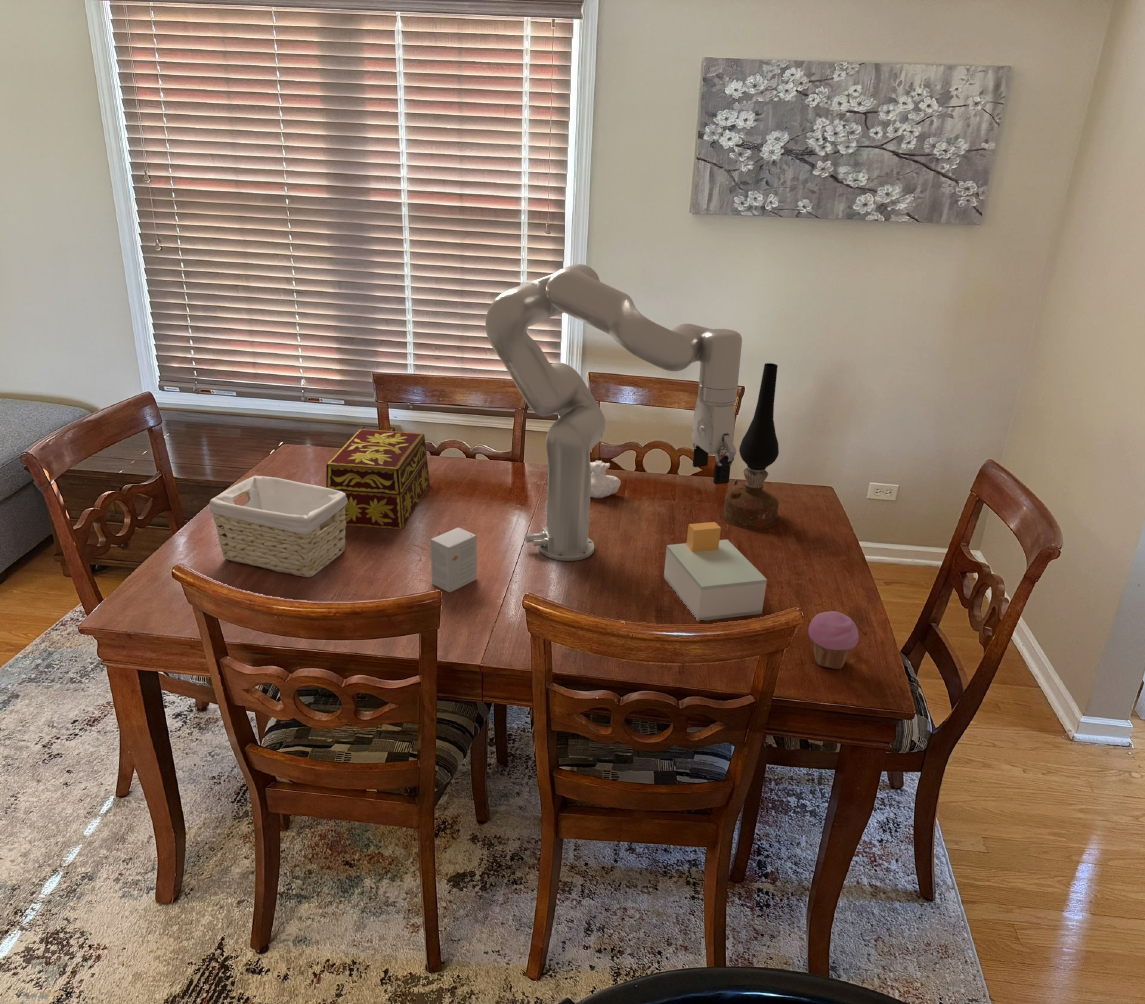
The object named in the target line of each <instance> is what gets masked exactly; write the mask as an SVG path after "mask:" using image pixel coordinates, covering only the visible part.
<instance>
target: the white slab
mask: <svg viewBox="0 0 1145 1004" xmlns="http://www.w3.org/2000/svg"><path fill="white" fill-rule="evenodd" d="M721 530H722V528H721V526H719V524H718V523H716V521H712V522H710V521H709V522H699V523H698V522H697V523H688V528H687V536H686V537H687V538H686V542H685V543H676V544H667V545H666V549H667V550H668V551H669V552H670V553H671V554H672V556H673V557H674V558H675V559H676V560H677V562H678V563H679V564H680V565H681V566H682V568H683V569H684V570H685V571H686V573H687V574H688V575H689V576H690V577H691V579H692V580H693V581H694V582H695V583H696V585H697V586H698V587H699V588H700V589H701V590H709V589H718V588H727V587H736V586H745V585H755V584H764V583H766V584H767V581H768V579H767V578H766V577H765V576H764V575H763V574H762V573H761V571H759V570H758V568H756V566H755V565H753V564H752V562H750V560H748V558H746V557H745V556H744V554H743V553H741V551H740V550H738V548H736V546H734V544H733V543H731V541H730V540H729V539H721V532H722V531H721Z"/></svg>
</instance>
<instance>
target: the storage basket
mask: <svg viewBox="0 0 1145 1004" xmlns="http://www.w3.org/2000/svg"><path fill="white" fill-rule="evenodd" d="M245 494H246V495H245ZM244 495H245V496H246V497H247V502H246V503H245V504H243V505H238V504H235V501H236V500H237V499H239V498H241V497H242V496H244ZM347 503H348V500H347V498H346V494H345V493H343V492H341V491H337V490H334V489H330V488H326V487H324V486H319V485H317V484H316V485H315V484H309V483H305V482H304V483H303V482H299V481H294V480H290V479H284V478H280V477H274V476H264V475H259V476H258V475H253V476H251V477H250V478H247V479H244V480H242V481H240V482H238V483H236V484H235V485H234V486H231V487H230V488H228V489H226V490H224V491H223V492H221V493H220V494H218V495H216V496H215V497H213V498H211V499H210V500H209V513H211V514H212V517H213V522H214V524H215V527H216V533H217V535H218V540H219V545H220V549H221V552H222V556H223V558H224V559H226V560H228V561H231V562H235V563H241V564H246V565H250V566H254V567H259V568H263V569H269V570H272V571H274V572H277V573H285V574H291V575H294V576H297V577H298V576H299V577H303V578H312V577H314V576H315V575H316V574H317V573H318V572H320V571H321V570H323V569H324V568H326V567H327V566H328V565H329V564H330V563H331V562H333V561H335V560H336V558H338V557H340V556H341V554H342V553H343V552H344V551H345V549H346V538H345V537H346V527H347V525H346V521H345V506H346V504H347Z"/></svg>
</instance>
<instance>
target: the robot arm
mask: <svg viewBox="0 0 1145 1004" xmlns="http://www.w3.org/2000/svg"><path fill="white" fill-rule="evenodd" d="M564 313H565V315H568V316H570V317H572V318H574V319H576V320H579V321H581V322H583V323H585V324H587V325H590V326H591V327H593V328H595V329H597V330H600V331H602V332H604V333H606V334H607V335H609V336H610V337H612V339H613V340H614V341H615V342H617V344H619V345H620V346H622V347H623V349H625V350H626V351H628V352H629V353H631V354H632V355H634V356H635V357H637V358H639V359H641V360H643V361H645V362H647V363H650V364H651V365H653V366H655V367H657V368H660V369H662V370H666V371H668V372H669V371H670V372H679V371H684V370H686V369H687V368H688V367H690V365H691V364H693V363H695V362H699V363H700V365H699V377H698V391H697V399H696V403H695V408H694V414H693V418H692V419H693V421H692V428H691V441H693V444H692V447H693V456H692V467H693V468H702V467H703V468H704V467H708V463H709V455H714V457H715V458H714V459H715V462H716V464H714V469H713V470H714V471H713V480H712V481H713V484H714V485H725V484H728V483H729V482H730V473H731V466H732V465H733V463H734V459H735V456H736V453H737V448H736V446H735V445H734V442H735V441H734V440H735V427H736V426H735V424H736V421H735V419H736V416H735V415H736V410H735V404H736V403H737V396H738V395H737V394H738V385H739V377H740V376H739V374H740V365H741V355H742V346H743V338H742V337H743V336H742V334H741V333H739V332H738V331H737V330H736V331H735V330H734V329H727V328H710V327H709V328H708V327H705V326H700V325H698V324H692V323H682V324H678V325H676V326H675V327H674V328H671V329H668V328H667V327H665V326H663V325H660V324H658V323H656V322H655V321H652V320H651V319H649V318H647V317H646V316H644V314H642V313H641V312H640V311H639V310H638V308H637V306H636V305H635V303H634V300H633V299H632V297H631V296H630V295H628V294H627V293H625V292H623V291H620V290H619V289H617V288H614V287H613V286H610V285H609V284H607V283H604V282H602V281H601V280H600V277H599V275H598V273H597V272H596V271H595V270H594V269H593V268H591V267H590V266H588V265H586V264H581V263H575V264H571V265H569V266H566V267H562V268H560V269H558V270H556V271H555V272H554V273H552V274H549V275H546V276H543V277H542V278H538V279H534V280H533V281H530V282H526V283H524V284H521V285H518V286H515V287H513V288H509V289H507V290H504V291H503V292H502V293H500V294H499V295H498V296H496V297H495V298H494V300H492V303H491V304H490V306H489V308H488V310H487V313H486V316H485V333H486V336H487V339H488V342H489V343H490V346H491V348H492V350H493V351H494V352H495V354H496V355H497V357H498V358H499V360H500V361H501V362H502V364H503V366H504V367H505V369H506V370H507V373H508V374H509V376H510V378H511V379H512V381H513V382H514V385H515V386H516V388H517V389H518V391H519V393H520V394H521V395H522V397H523V399H524V402H526V404H527V406H528V407H529V408H530V410H531V411H532V412H533V413H535V414H536V415H538V416H540V417H548V416H549V417H550V416H552V415H555V414H557V416H558V417H559V418H557V420H555V421H554V422H553V423H552V425H551V426H550V427H549V429H548V430H547V432H546V433H547V434H546V438H545V452H546V461H547V492H546V493H547V497H546V501H547V502H546V526H544V527H542V531H538V533H525V535H524V541H525V543H527V544H528V543H532V546H533V547H536V546H537V547H538V549H539V552H540V553H541V554H543V555H544V556H546V557H547V558H550V559H554V560H557V561H565V562H573V561H580V560H584V559H587V558H588V557H590V556H591V555H592V554H594V552H595V543H594V542H593V540H592V539H591V538H589V525H590V510H591V509H590V508H591V507H590V506H591V497H590V493H591V474H592V473H591V465H590V462H591V458H590V453H591V451H592V449H593V448H594V447H595V446H596V445H597V444H599V442H601V441H602V439H603V438H604V436H605V434H606V431H607V422H606V418H605V416H604V413H603V411H602V409H601V408H600V406H599V404H598V403H597V400H596V399H595V397H594V396H593V393H591V392H592V391H591V390H590V389H589V387H588V386H587V384H586V383H585V381H584V379H583V378H582V376H581V375H580V373H579V372H578V371H577V370H576V369H575V368H574V367H572V366H570V365H569V364H568V363H567V364H566V363H563V362H554V363H551V362H550V361H549V360H548V358H547V357H546V355H545V353H544V351H543V349H542V348H541V346H540V345H539V344H538V343H537V342H536V340H535V339H534V338H532V337H531V336H530V334H529V333H528V331H527V330H528V328H529V327H531V326H534V325H536V324H539V323H541V322H543V321H545V320H548V319H550V318H553V317H556V316H559V315H562V314H564ZM721 455H723V457H721Z"/></svg>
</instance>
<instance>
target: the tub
mask: <svg viewBox="0 0 1145 1004" xmlns="http://www.w3.org/2000/svg"><path fill="white" fill-rule="evenodd" d="M663 571H664V573H663V578H664V580H665V581H666V583H667V584H668V585H669V586H670V588H671V587H672V588H671V590H673V592H674V591H675V592H676V593H675V592H674V593H675V595H676V596H677V597H678V596H679V597H680V598H679V597H678V598H679V599H680V601H681V600H682V601H683V602H682V601H681V602H682V603H683V605H684V604H685V605H686V606H687V607H686V606H685V605H684V606H685V607H686V608H687V610H688V609H689V610H690V611H691V612H690V611H689V610H688V611H689V612H690V614H691V613H692V614H691V616H693V615H694V616H693V617H695V618H696V619H695V618H694V619H695V620H696V622H701V621H700V620H705V621H711V620H719V619H728V618H736V617H737V618H738V617H745V616H746V617H747V616H755V615H762V614H763V608H764V601H765V595H766V591H767V583H764V584H755V585H745V586H736V587H727V588H718V589H709V590H701V589H700V588H699V587H698V586H697V585H696V583H695V582H694V581H693V580H692V579H691V577H690V576H689V575H688V574H687V573H686V571H685V570H684V569H683V568H682V566H681V565H680V564H679V563H678V562H677V560H676V559H675V558H674V557H673V556H672V554H671V553H670V552H669V551H668V550H667V548H666V551H665V561H664V570H663Z"/></svg>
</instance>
